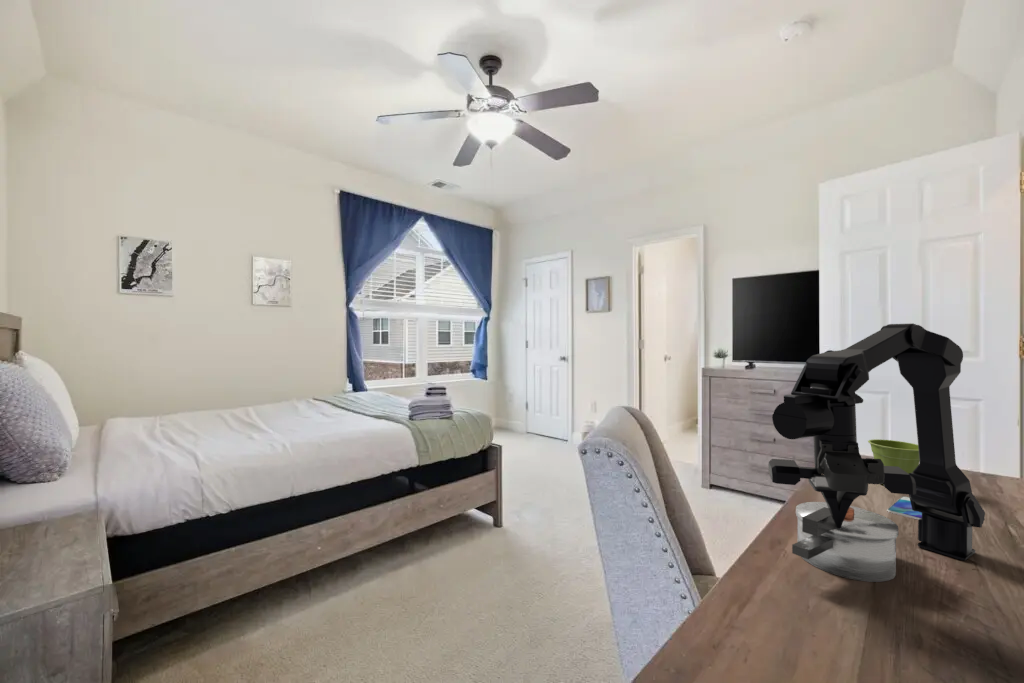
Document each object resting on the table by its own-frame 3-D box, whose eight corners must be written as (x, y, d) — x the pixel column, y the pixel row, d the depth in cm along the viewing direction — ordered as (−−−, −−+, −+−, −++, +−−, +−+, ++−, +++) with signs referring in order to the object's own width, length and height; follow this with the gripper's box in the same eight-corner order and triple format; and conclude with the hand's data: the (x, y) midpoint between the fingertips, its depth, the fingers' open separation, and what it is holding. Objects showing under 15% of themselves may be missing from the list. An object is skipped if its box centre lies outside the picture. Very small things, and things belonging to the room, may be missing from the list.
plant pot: (910, 495, 112) (910, 451, 112) (858, 482, 123) (858, 441, 123) (935, 489, 117) (935, 446, 117) (882, 476, 128) (883, 437, 128)
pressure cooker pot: (827, 533, 90) (827, 501, 90) (916, 563, 78) (916, 526, 78) (757, 565, 77) (757, 527, 77) (850, 606, 65) (851, 562, 65)
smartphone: (941, 504, 105) (928, 520, 96) (941, 508, 105) (928, 524, 96) (901, 495, 111) (885, 509, 102) (901, 498, 111) (885, 513, 102)
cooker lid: (817, 501, 89) (817, 484, 89) (911, 527, 77) (911, 508, 77) (763, 524, 78) (764, 505, 78) (864, 559, 66) (864, 536, 66)
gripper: (775, 440, 69) (779, 540, 69) (931, 447, 61) (935, 560, 61) (766, 426, 79) (769, 513, 79) (899, 431, 71) (902, 527, 71)
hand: (837, 527), depth 72 cm, fingers closed
